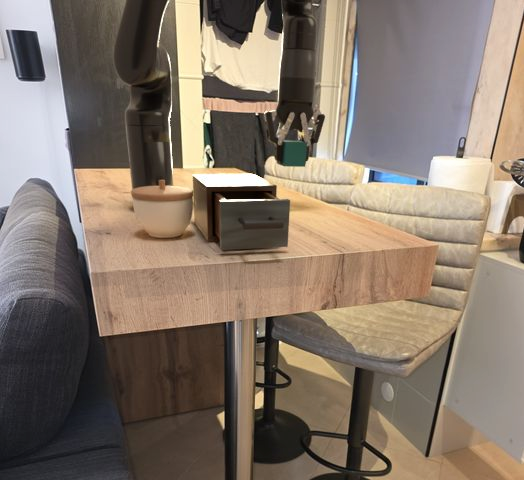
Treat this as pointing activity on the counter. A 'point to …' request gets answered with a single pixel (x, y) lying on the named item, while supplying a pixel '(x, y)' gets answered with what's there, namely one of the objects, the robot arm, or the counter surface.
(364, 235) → the counter surface
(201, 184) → the cabinet
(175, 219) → the trinket box
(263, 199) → the drawer
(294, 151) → the block
